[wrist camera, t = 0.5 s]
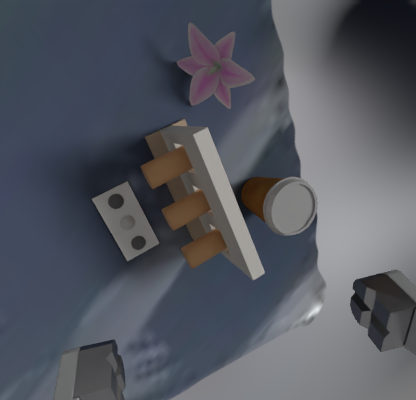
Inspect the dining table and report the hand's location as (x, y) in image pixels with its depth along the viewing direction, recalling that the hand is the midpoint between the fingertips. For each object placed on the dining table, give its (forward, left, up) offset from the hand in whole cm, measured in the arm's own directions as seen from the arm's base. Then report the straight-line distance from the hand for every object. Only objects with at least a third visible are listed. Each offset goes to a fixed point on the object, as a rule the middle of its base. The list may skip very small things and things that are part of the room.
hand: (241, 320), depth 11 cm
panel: (+10, +11, -45) cm, 48 cm away
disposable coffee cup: (+17, +22, -45) cm, 53 cm away
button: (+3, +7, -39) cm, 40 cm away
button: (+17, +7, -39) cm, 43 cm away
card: (+10, -1, -45) cm, 46 cm away
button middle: (+10, +7, -39) cm, 41 cm away
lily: (-6, +20, -45) cm, 50 cm away
